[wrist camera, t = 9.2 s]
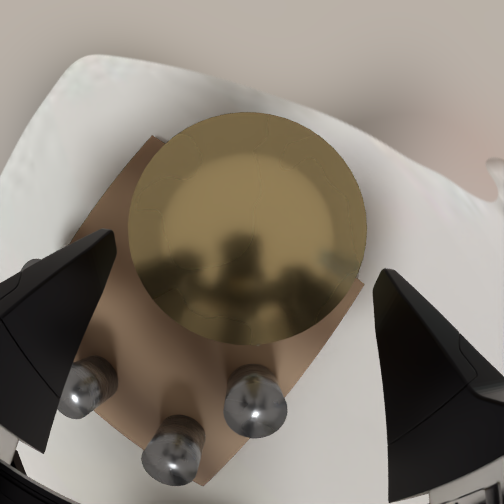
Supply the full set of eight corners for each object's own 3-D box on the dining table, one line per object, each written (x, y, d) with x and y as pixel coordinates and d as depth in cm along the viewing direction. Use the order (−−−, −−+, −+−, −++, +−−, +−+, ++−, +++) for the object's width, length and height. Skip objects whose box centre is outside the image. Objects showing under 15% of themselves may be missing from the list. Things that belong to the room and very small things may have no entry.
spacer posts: (204, 475, 15) (197, 510, 11) (28, 328, 16) (-7, 332, 12) (287, 381, 17) (300, 403, 13) (87, 226, 17) (55, 211, 13)
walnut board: (204, 479, 16) (202, 488, 15) (28, 332, 17) (18, 334, 16) (358, 284, 18) (366, 284, 17) (155, 141, 19) (151, 133, 18)
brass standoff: (241, 323, 17) (235, 394, 5) (191, 265, 17) (89, 209, 5) (298, 272, 17) (407, 232, 5) (249, 216, 18) (258, 79, 6)
